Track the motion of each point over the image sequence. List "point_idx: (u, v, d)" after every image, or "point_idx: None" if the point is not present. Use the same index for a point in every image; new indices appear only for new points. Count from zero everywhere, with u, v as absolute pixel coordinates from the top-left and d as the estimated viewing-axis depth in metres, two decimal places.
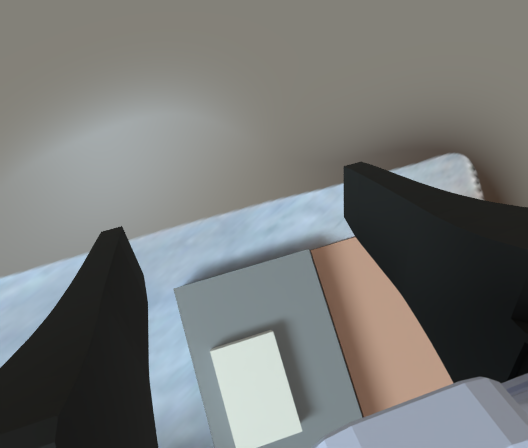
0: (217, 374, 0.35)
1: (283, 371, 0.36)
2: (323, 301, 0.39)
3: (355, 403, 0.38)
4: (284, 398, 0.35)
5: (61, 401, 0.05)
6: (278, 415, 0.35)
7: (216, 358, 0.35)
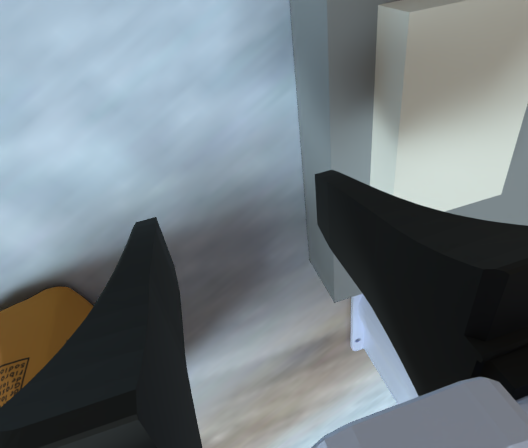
0: (406, 77, 0.14)
1: None
2: None
3: None
4: (504, 139, 0.17)
5: (134, 377, 0.06)
6: (480, 168, 0.18)
7: (417, 34, 0.13)
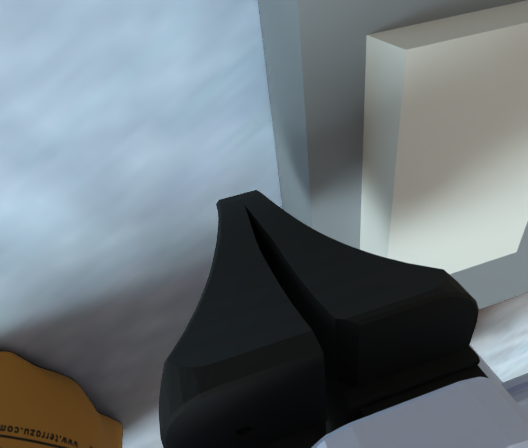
0: (402, 128, 0.11)
1: None
2: None
3: None
4: (522, 193, 0.14)
5: (300, 322, 0.06)
6: (492, 226, 0.15)
7: (416, 77, 0.10)
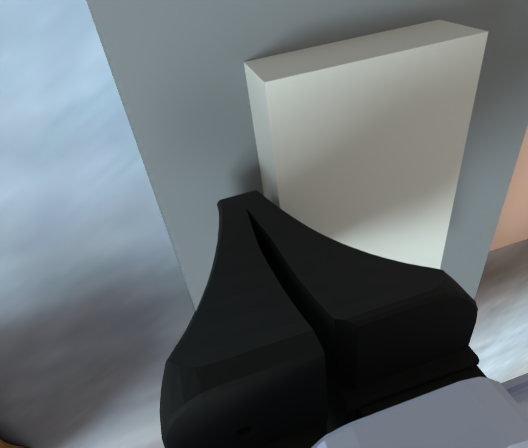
0: (278, 160, 0.10)
1: (458, 159, 0.12)
2: None
3: (494, 220, 0.18)
4: (432, 221, 0.13)
5: (301, 322, 0.06)
6: (405, 254, 0.14)
7: (283, 109, 0.10)
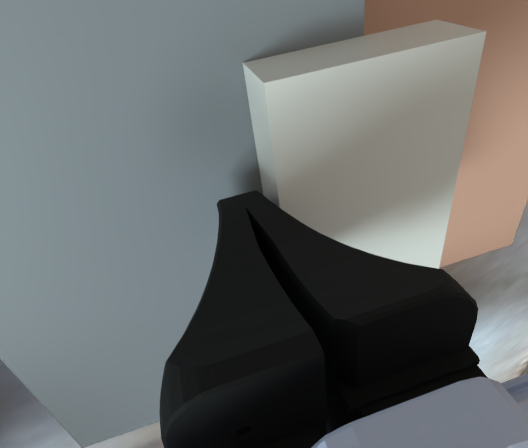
0: (278, 161, 0.10)
1: (457, 158, 0.12)
2: None
3: None
4: (431, 220, 0.13)
5: (300, 322, 0.06)
6: (404, 253, 0.14)
7: (282, 109, 0.10)
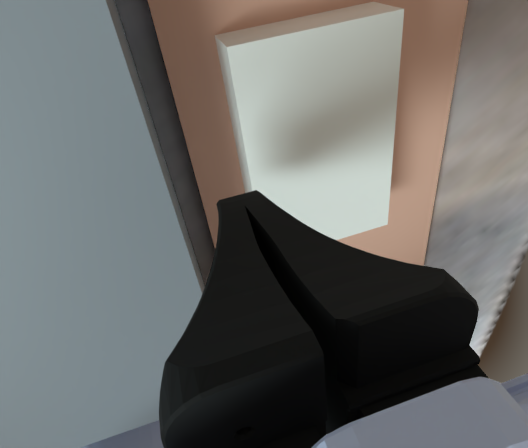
0: None
1: None
2: (111, 42, 0.10)
3: None
4: None
5: (300, 322, 0.06)
6: None
7: None
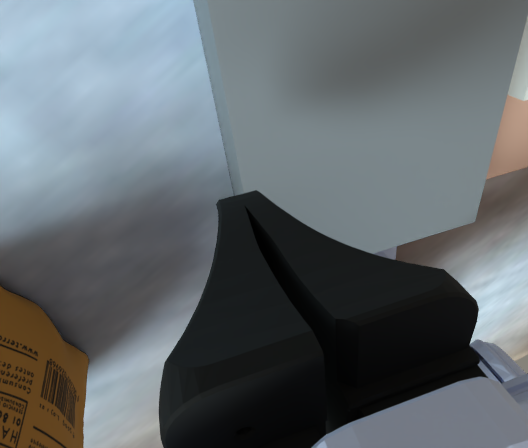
0: None
1: None
2: None
3: (496, 124, 0.20)
4: None
5: (300, 322, 0.06)
6: None
7: None
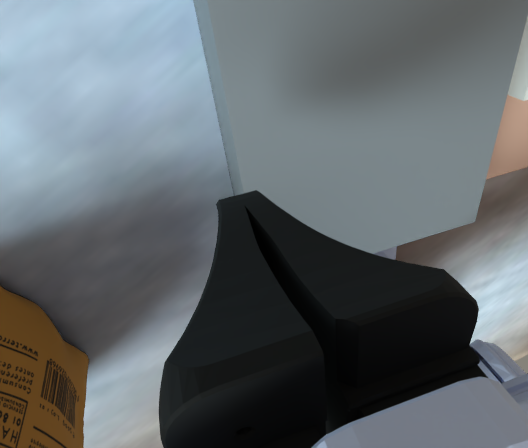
0: None
1: None
2: None
3: (496, 124, 0.20)
4: None
5: (300, 322, 0.06)
6: None
7: None
